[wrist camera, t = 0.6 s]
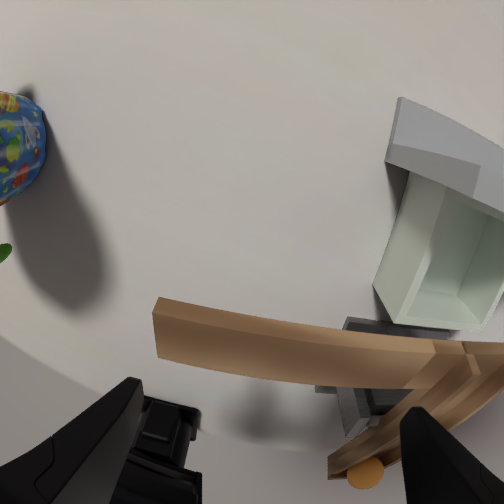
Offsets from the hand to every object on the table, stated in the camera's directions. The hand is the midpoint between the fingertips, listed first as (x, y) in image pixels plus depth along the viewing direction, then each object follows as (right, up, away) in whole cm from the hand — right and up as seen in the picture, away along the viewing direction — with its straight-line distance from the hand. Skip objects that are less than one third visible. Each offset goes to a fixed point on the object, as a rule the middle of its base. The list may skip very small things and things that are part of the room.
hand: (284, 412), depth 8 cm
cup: (+12, +6, +10) cm, 17 cm away
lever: (+3, -5, +8) cm, 11 cm away
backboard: (+13, +11, +7) cm, 19 cm away
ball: (+8, -13, +10) cm, 19 cm away
